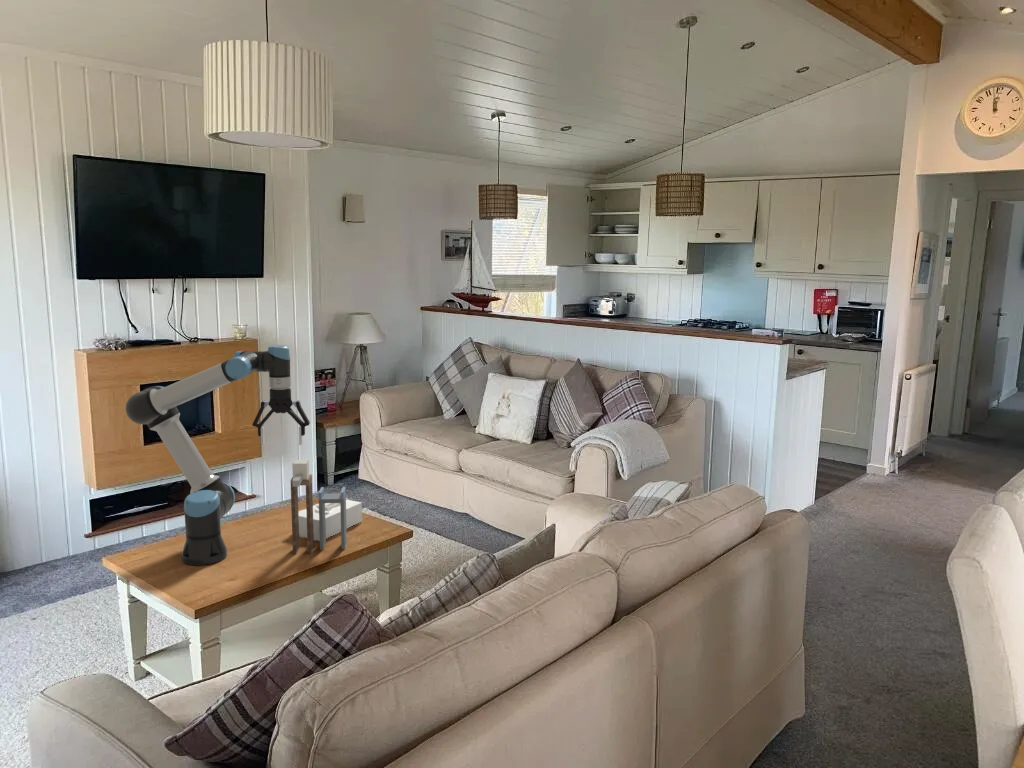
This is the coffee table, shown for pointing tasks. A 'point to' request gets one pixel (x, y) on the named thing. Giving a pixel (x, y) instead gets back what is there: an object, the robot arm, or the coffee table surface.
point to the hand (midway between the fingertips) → (282, 444)
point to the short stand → (322, 500)
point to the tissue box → (331, 518)
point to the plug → (300, 471)
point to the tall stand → (296, 516)
